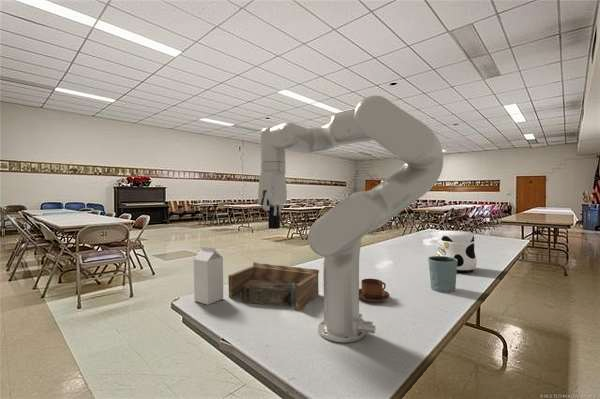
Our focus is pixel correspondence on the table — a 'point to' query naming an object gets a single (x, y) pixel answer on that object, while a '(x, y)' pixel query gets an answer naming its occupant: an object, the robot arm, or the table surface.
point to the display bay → (279, 280)
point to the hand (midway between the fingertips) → (274, 228)
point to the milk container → (458, 248)
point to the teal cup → (443, 273)
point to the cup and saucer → (373, 290)
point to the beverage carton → (269, 293)
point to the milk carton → (208, 276)
